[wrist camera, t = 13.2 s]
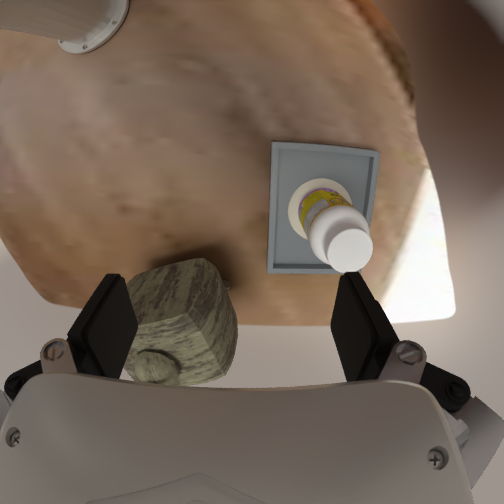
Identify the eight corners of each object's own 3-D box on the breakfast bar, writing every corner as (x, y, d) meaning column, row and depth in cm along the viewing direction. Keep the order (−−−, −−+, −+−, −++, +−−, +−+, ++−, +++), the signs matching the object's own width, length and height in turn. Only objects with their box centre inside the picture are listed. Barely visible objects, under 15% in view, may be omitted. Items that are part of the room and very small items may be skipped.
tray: (270, 140, 33) (271, 142, 32) (373, 149, 33) (379, 151, 31) (266, 265, 42) (267, 273, 40) (355, 266, 42) (360, 273, 40)
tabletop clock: (160, 306, 45) (111, 434, 23) (137, 261, 42) (58, 385, 19) (241, 288, 44) (230, 438, 21) (222, 237, 40) (187, 385, 17)
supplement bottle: (353, 211, 37) (393, 253, 25) (318, 241, 39) (343, 294, 27) (323, 175, 34) (358, 204, 23) (286, 208, 37) (302, 252, 25)
